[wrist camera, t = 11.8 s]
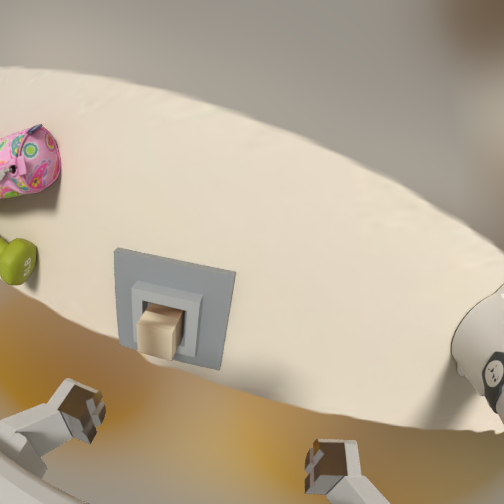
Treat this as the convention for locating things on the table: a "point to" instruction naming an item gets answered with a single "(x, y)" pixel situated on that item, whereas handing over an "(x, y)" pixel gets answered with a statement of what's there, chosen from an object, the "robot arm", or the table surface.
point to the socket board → (175, 302)
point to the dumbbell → (16, 260)
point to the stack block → (160, 331)
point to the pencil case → (28, 162)
